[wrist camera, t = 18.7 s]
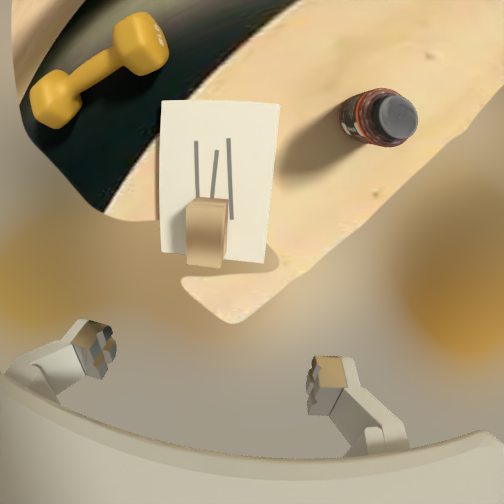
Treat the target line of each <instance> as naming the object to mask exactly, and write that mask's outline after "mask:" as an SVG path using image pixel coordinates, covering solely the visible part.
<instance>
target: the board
mask: <svg viewBox="0 0 504 504" xmlns="http://www.w3.org/2000/svg"><path fill="white" fill-rule="evenodd" d="M279 112H280V104H272V103H260V102H246V101H226V100H172V101H162V108H161V125H160V153H159V208H160V235H161V236H160V237H161V252H166V253H174V254H184V255H186V207H187V206H188V205H189V204H190V203H191V202H192V201H193V200H194V199H195V198H196V197H206V198H219V199H229V203H228V223H227V244H226V254H225V256H224V259H227V260H236V261H245V262H254V263H264V256H265V247H266V239H267V230H268V220H269V211H270V202H271V192H272V183H273V173H274V163H275V153H276V143H277V133H278V123H279Z"/></svg>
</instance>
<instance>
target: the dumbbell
mask: <svg viewBox="0 0 504 504" xmlns="http://www.w3.org/2000/svg"><path fill="white" fill-rule="evenodd" d="M112 40H113V45H112V46H111V47H110V48H108V49H106V50H104V51H102V52H100V53H99V54H97V55H95V56H94V57H92V58H91V59H89V60H88V61H87V62H85V63H84V64H82V65H81V66H80V67H78V68H77V69H76V70H75V71H74V72H73V73H72V74H70V75H68V74H67V73H65V72H63V71H61V70H53V71H51V72H50V73H48V74H47V75H45V76H44V77H43V78H41V79H40V80H39V81H38V82H37V83H36V84H35V85H34V86H33V87H32V88H31V90H30V102H31V107H32V111H33V115H34V117H35V118H36V119H37V120H38V121H39V122H41V123H43V124H45V125H47V126H49V127H51V128H53V129H59V128H61V127H63V126H64V125H65V124H67V123H68V122H69V121H70V120H71V119H72V118H73V117H74V116H75V115H76V114H77V113H78V111H79V110H80V108H81V106H82V99H81V94H80V93H81V92H83V91H85V90H87V89H88V88H90V87H92V86H93V85H95V84H96V83H98V82H100V81H101V80H103V79H104V78H106V77H107V76H109V75H110V74H112V73H113V72H115V71H116V70H117V69H119V68H120V67H122V66H125V67H127V68H128V69H129V70H130V71H131V72H133V73H134V74H136V75H139V76H142V75H146V74H149V73H151V72H153V71H155V70H157V69H159V68H161V67H162V66H163V65H164V64H165V63H166V61H167V60H168V57H169V50H168V46H167V43H166V40H165V37H164V34H163V32H162V30H161V29H160V27H159V26H158V24H157V23H156V22H155V20H154V19H153V18H152V17H151V16H150V15H149V14H148V13H146V12H137V13H134V14H132V15H130V16H128V17H126V18H125V19H123V20H121V21H120V22H118V23H117V24H116V25H115V26H114V28H113V32H112Z"/></svg>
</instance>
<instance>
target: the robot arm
mask: <svg viewBox="0 0 504 504" xmlns="http://www.w3.org/2000/svg"><path fill="white" fill-rule="evenodd" d="M112 334H113V332H112V329H111V327H110V326H108V325H105V324H101V323H98V322H94V321H91V320H86V319H83V318H79V319H78V320H77V321H76V322H75V323H74V325H73V326H72V327H71V328H70V329H69V330H68V332H67V333H66V334H65V336H64V337H63V338H62V339H61V340H59V339H58V340H56V341H53V342H51V343H48V344H47V345H44V346H42V347H39V348H37V349H35V350H32V351H30V352H28V353H26V354H23V355H21V356H19V357H18V358H17V359H16V360H15V361H14V363H13V364H12V365H11V366H10V368H9V369H8V370H7V371H6V373H5V374H3V373H1V372H0V504H504V444H503V443H502V442H501V441H499V440H498V439H497V438H495V437H494V436H493V435H491V434H490V433H488V432H486V431H485V430H478V431H474V432H471V433H468V434H465V435H462V436H459V437H456V438H452V439H449V440H445V441H441V442H438V443H433V444H429V445H425V446H420V447H416V448H412V449H410V447H409V443H408V439H407V435H406V432H405V428H404V425H403V422H401V421H400V420H399V419H398V418H397V417H396V416H395V415H394V414H393V413H391V412H390V411H389V410H388V409H387V408H386V407H385V406H384V405H383V404H382V403H380V402H379V401H378V400H377V399H376V398H375V397H374V396H373V395H372V394H371V393H370V392H368V391H367V390H366V389H365V388H361V386H360V382H359V378H358V374H357V370H356V366H355V363H354V359H353V358H352V357H342V356H340V357H338V356H314V357H313V359H312V368H311V369H310V370H309V372H308V375H307V382H306V392H307V394H308V395H309V398H308V400H307V406H308V407H307V408H308V415H321V416H329V417H330V419H331V420H332V421H333V423H334V424H335V425H336V427H337V428H338V429H339V431H340V432H341V433H342V434H343V436H344V437H345V438H346V440H347V441H348V442H349V444H350V445H351V446H352V447H351V448H350V449H349V450H348V451H347V453H346V454H345V455H344V456H343V457H342V458H323V459H287V458H265V457H253V456H243V455H234V454H227V453H219V452H213V451H207V450H201V449H196V448H191V447H186V446H181V445H176V444H172V443H167V442H164V441H160V440H156V439H152V438H148V437H145V436H141V435H138V434H135V433H131V432H128V431H125V430H122V429H119V428H116V427H113V426H110V425H107V424H105V423H102V422H99V421H97V420H94V419H91V418H89V417H87V416H84V415H82V414H79V413H77V412H75V411H72V410H70V409H68V408H66V407H64V406H61V404H60V402H59V400H58V399H57V397H56V395H58V394H59V393H61V392H62V391H64V390H65V389H67V388H68V387H69V386H71V385H72V384H74V383H76V382H77V381H79V380H80V379H81V378H83V377H85V376H86V375H88V376H91V377H94V378H97V379H100V380H102V379H103V377H104V375H105V373H106V372H107V370H108V366H107V364H109V363H111V362H112V361H113V360H114V358H115V355H116V342H115V340H114V339H113V338H112V337H111V335H112Z"/></svg>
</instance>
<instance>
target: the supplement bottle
mask: <svg viewBox="0 0 504 504" xmlns="http://www.w3.org/2000/svg"><path fill="white" fill-rule="evenodd" d="M339 118H340V123H341V126H342V128H343V130H344V131H345V132H346V134H347V135H348V136H350V137H351V138H353V139H355V140H357V141H359V142H363V143H369V144H373V145H378V146H383V147H395V146H398V145H400V144H402V143H404V142H405V141H406V140H407V139H408V138H409V137H410V136H411V135H413V133H414V132H415V131H416V129H417V125H418V116H417V112H416V110H415V107H414V106H413V105H412V103H411V102H410V101H409V100H407V99H406V98H404V97H403V96H402V95H400V94H399V93H397V92H396V91H393V90H391V89H386V88H377V89H373V90H370V91H367V92H364V93H361V94H358V95H355V96H353V97H351V98H349V99H347V100H346V101H345V102H344V103H343V105H342V107H341V109H340V114H339Z"/></svg>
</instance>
